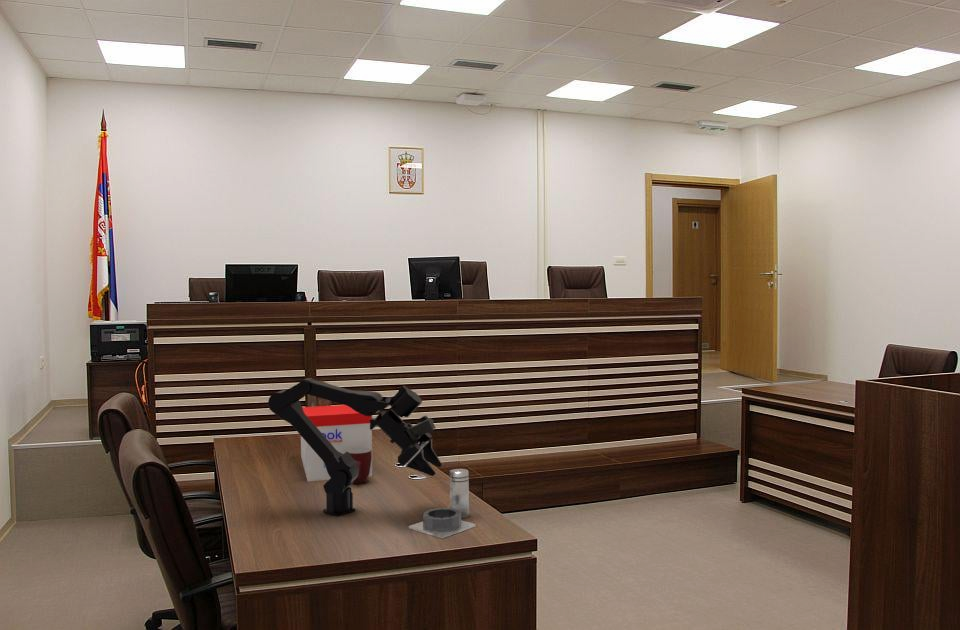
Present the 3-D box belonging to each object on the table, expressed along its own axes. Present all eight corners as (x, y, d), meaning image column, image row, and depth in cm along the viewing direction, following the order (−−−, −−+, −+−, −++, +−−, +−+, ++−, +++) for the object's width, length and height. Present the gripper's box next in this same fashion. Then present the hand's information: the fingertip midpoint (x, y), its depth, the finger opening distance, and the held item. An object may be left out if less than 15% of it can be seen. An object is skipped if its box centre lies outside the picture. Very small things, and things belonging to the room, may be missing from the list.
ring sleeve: (441, 538, 183) (441, 524, 182) (408, 528, 191) (408, 514, 191) (475, 526, 191) (475, 512, 191) (442, 517, 200) (442, 503, 199)
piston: (459, 519, 197) (459, 474, 197) (446, 515, 201) (445, 471, 200) (472, 515, 201) (472, 470, 200) (459, 511, 204) (458, 467, 204)
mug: (374, 486, 230) (373, 454, 230) (347, 488, 228) (347, 456, 228) (370, 477, 241) (370, 447, 240) (345, 479, 239) (344, 448, 238)
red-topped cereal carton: (307, 482, 237) (306, 416, 236) (301, 457, 270) (299, 400, 269) (373, 476, 243) (371, 412, 242) (358, 453, 276) (357, 396, 275)
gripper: (408, 414, 192) (452, 457, 191) (423, 402, 210) (463, 442, 209) (379, 444, 193) (422, 487, 192) (397, 430, 212) (436, 469, 211)
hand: (437, 470), depth 201 cm, fingers open, 9 cm apart
